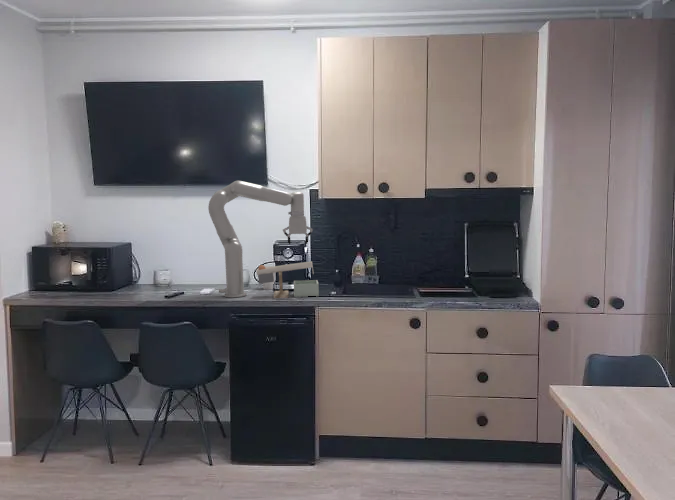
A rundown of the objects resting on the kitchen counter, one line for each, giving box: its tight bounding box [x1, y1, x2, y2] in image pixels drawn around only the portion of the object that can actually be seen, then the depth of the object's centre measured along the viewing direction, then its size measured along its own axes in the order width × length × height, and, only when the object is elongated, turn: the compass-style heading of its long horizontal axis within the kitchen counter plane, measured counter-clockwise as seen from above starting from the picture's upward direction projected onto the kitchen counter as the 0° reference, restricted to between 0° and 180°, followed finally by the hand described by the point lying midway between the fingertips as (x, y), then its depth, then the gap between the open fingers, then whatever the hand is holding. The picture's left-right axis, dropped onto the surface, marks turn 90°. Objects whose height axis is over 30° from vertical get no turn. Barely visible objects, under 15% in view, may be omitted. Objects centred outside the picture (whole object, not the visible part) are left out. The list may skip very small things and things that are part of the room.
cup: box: [293, 279, 320, 298], centre depth 340 cm, size 14×14×7 cm
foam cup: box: [262, 265, 277, 291], centre depth 363 cm, size 10×9×13 cm
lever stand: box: [273, 271, 289, 299], centre depth 339 cm, size 8×14×14 cm, turn 4°
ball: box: [257, 264, 266, 270], centre depth 337 cm, size 4×4×4 cm
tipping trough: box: [255, 260, 315, 285], centre depth 343 cm, size 31×17×8 cm, turn 94°
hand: (298, 243), depth 347 cm, fingers open, 9 cm apart
